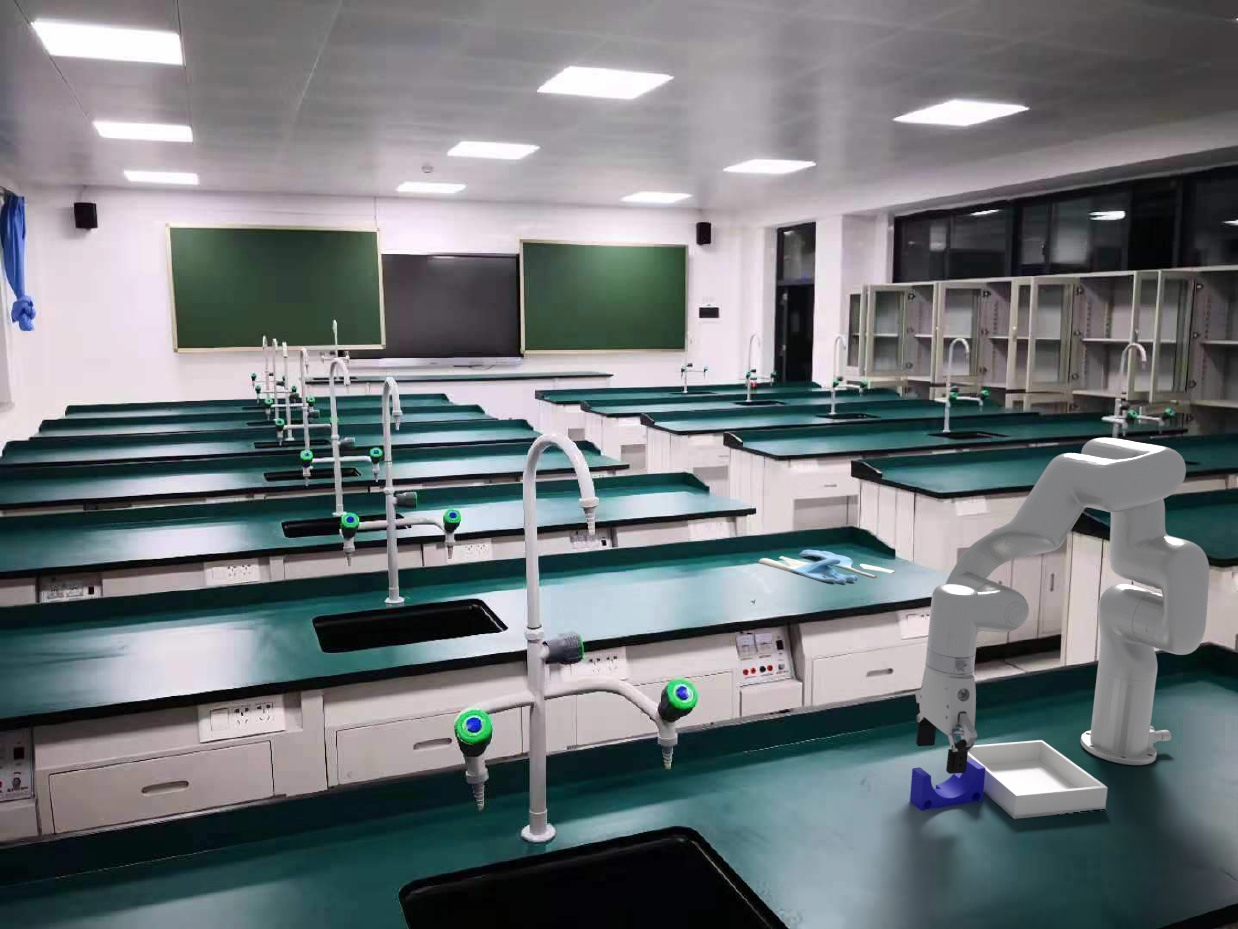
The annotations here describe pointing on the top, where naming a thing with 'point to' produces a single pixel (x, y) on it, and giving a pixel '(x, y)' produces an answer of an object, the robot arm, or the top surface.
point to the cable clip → (948, 788)
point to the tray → (1036, 780)
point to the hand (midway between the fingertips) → (940, 758)
